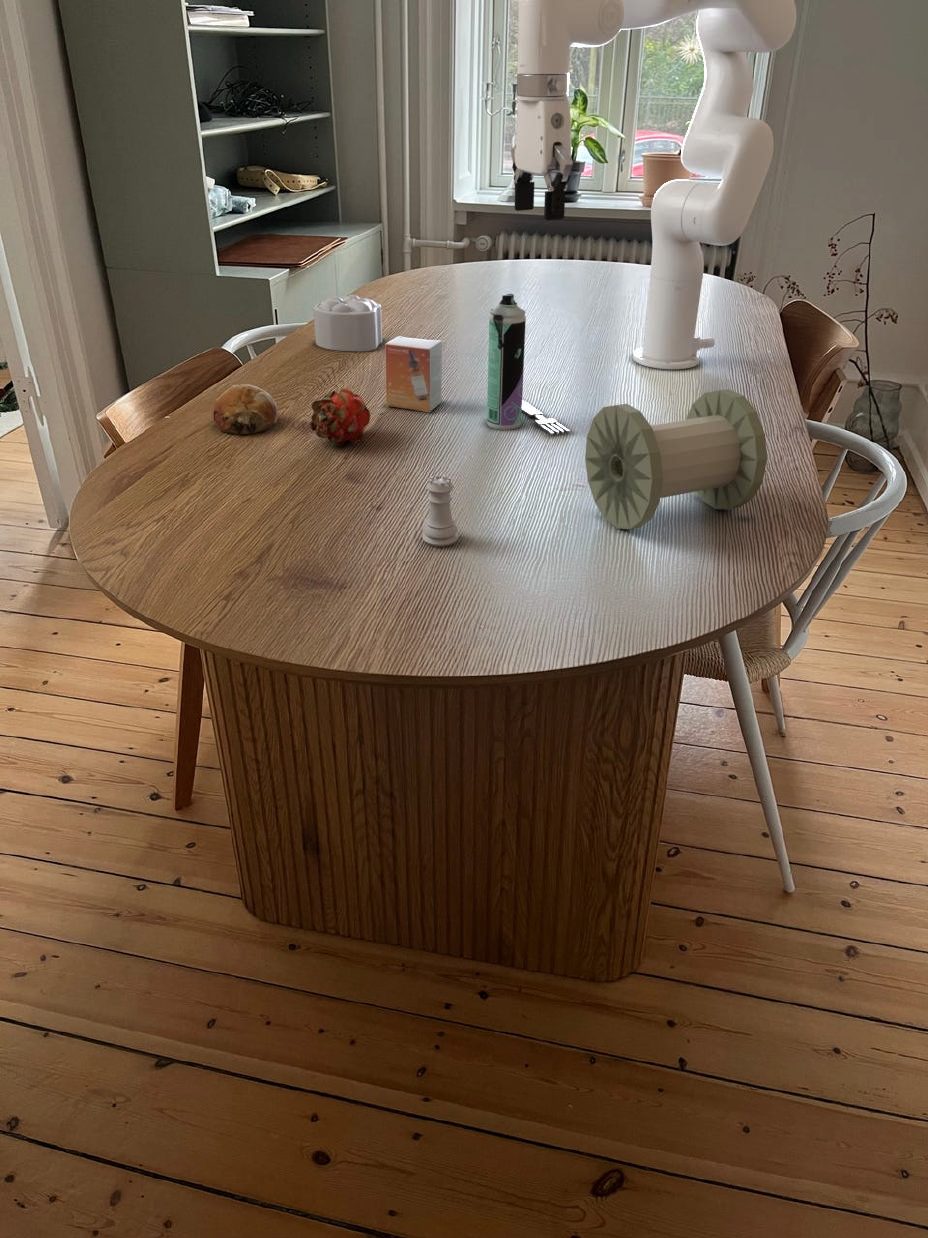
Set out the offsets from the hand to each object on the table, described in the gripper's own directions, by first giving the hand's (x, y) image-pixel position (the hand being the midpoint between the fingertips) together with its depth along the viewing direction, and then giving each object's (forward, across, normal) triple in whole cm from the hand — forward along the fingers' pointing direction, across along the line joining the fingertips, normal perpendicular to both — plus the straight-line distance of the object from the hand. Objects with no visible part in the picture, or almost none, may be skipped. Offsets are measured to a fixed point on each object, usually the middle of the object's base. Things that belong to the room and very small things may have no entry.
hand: (538, 214), depth 146 cm
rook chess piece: (+28, -44, +36) cm, 63 cm away
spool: (+29, -48, +6) cm, 57 cm away
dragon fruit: (+28, -7, +37) cm, 47 cm away
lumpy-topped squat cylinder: (+29, +44, +19) cm, 56 cm away
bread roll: (+28, +5, +48) cm, 56 cm away
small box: (+29, +4, +20) cm, 36 cm away
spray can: (+29, -10, +11) cm, 33 cm away
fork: (+29, -9, +5) cm, 31 cm away
